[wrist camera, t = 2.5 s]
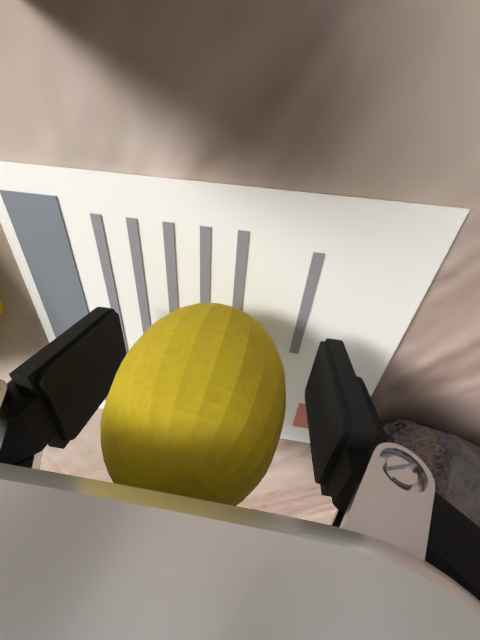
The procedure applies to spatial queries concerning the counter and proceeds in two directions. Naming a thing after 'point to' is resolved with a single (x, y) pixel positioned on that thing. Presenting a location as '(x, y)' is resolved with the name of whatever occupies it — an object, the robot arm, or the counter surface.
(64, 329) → the letter
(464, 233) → the counter surface
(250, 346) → the lemon
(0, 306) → the element tile
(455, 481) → the perforated stone tool
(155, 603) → the robot arm
